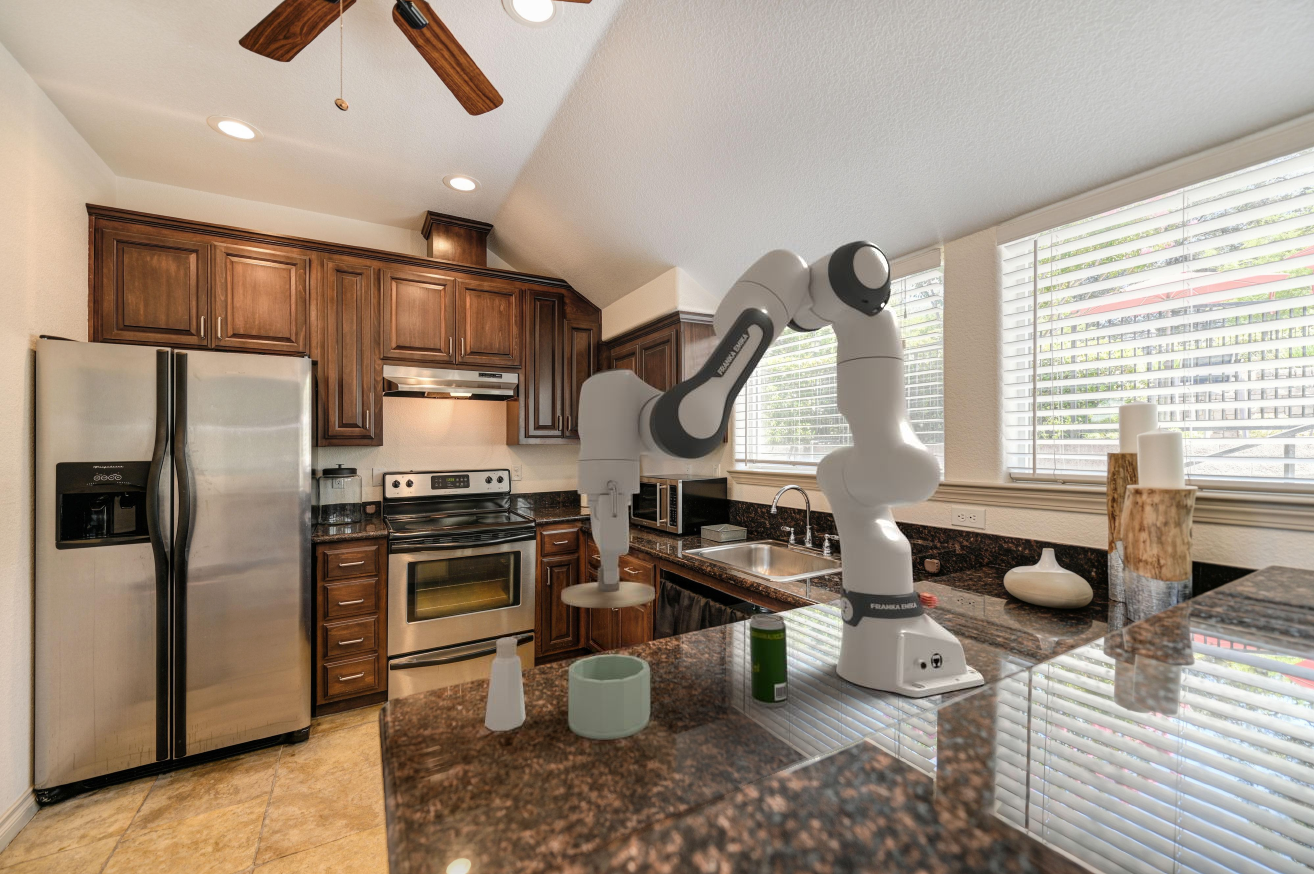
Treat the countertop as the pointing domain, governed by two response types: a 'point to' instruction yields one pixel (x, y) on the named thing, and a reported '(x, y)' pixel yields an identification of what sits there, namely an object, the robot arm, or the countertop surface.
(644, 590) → the lid
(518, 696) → the pepper shaker
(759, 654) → the beer can
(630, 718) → the pale green pot
